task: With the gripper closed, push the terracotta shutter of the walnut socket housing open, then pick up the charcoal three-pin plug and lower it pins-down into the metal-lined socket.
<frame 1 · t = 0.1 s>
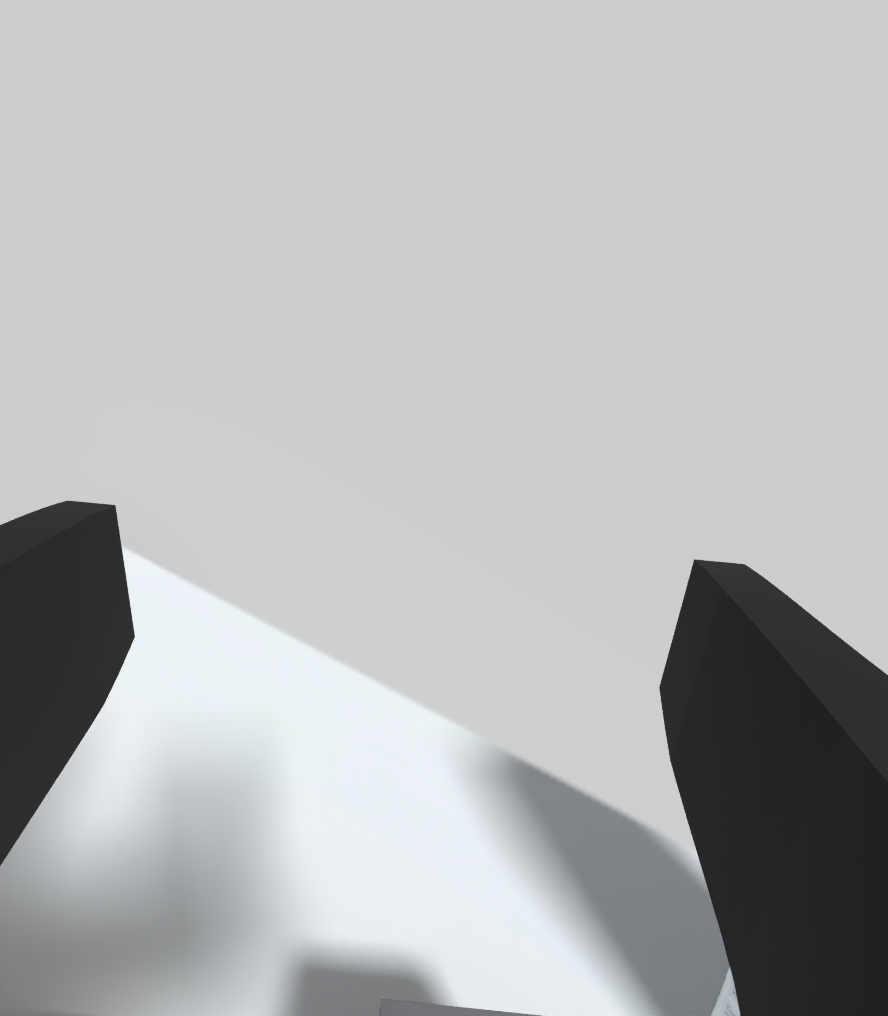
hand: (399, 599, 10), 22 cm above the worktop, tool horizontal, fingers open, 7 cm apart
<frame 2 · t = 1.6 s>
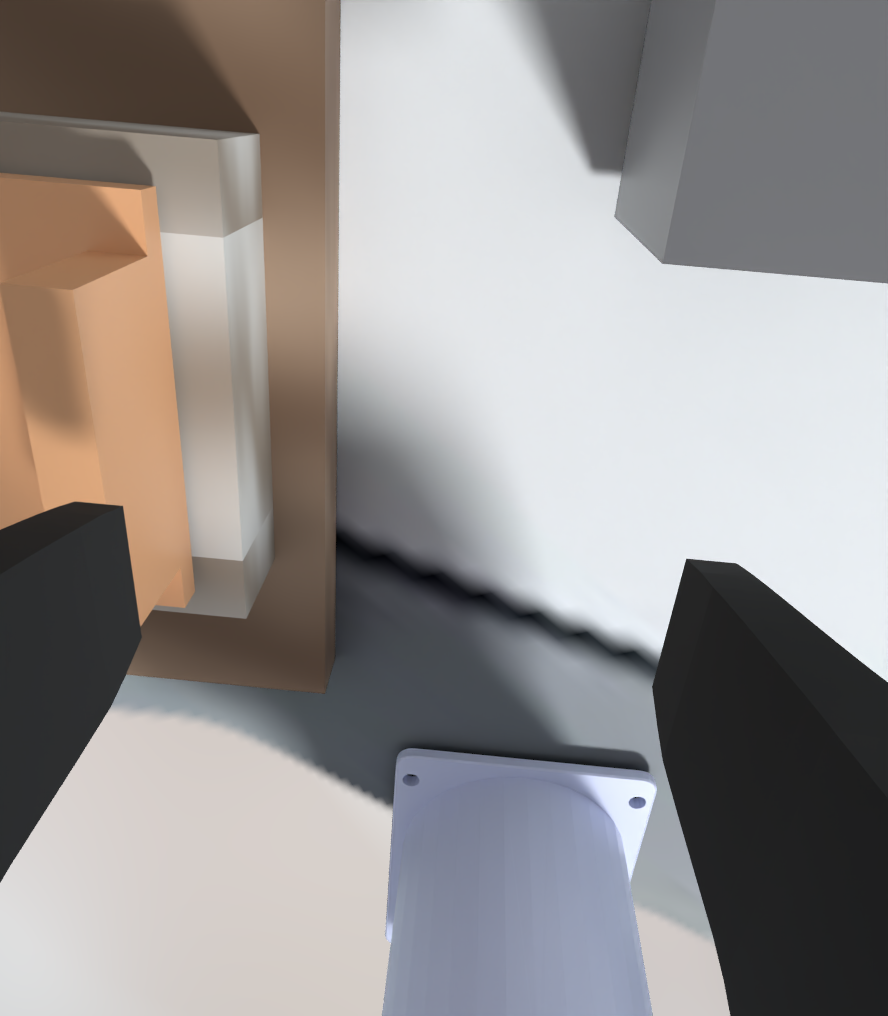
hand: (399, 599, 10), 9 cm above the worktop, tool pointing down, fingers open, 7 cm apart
socket housing: (86, 336, 18), on the worktop
plug: (743, 100, 15), on the worktop
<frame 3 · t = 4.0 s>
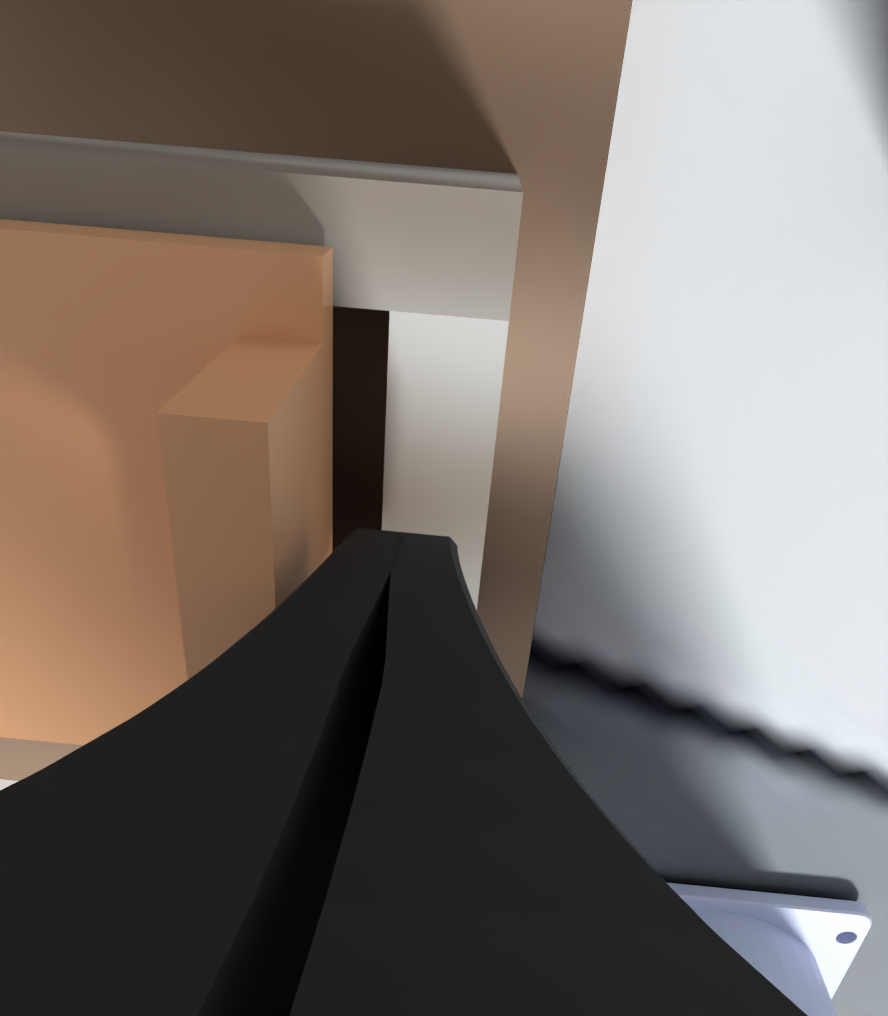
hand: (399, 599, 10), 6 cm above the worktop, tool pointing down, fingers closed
shutter: (15, 571, 10), point 6 cm above the worktop, slide at 1.2 cm, touching gripper
socket housing: (240, 414, 15), on the worktop
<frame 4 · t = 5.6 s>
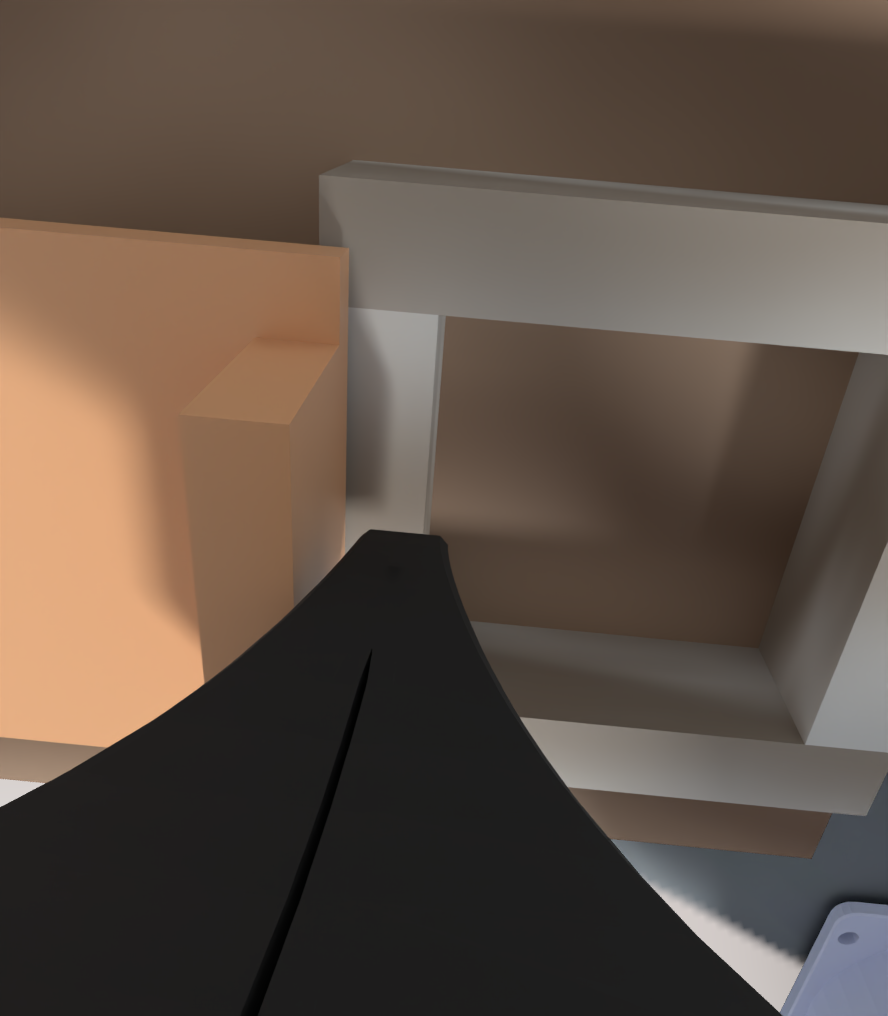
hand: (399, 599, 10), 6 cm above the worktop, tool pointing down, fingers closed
shutter: (28, 572, 10), point 6 cm above the worktop, slide at 8.1 cm, touching gripper
socket housing: (609, 447, 15), on the worktop
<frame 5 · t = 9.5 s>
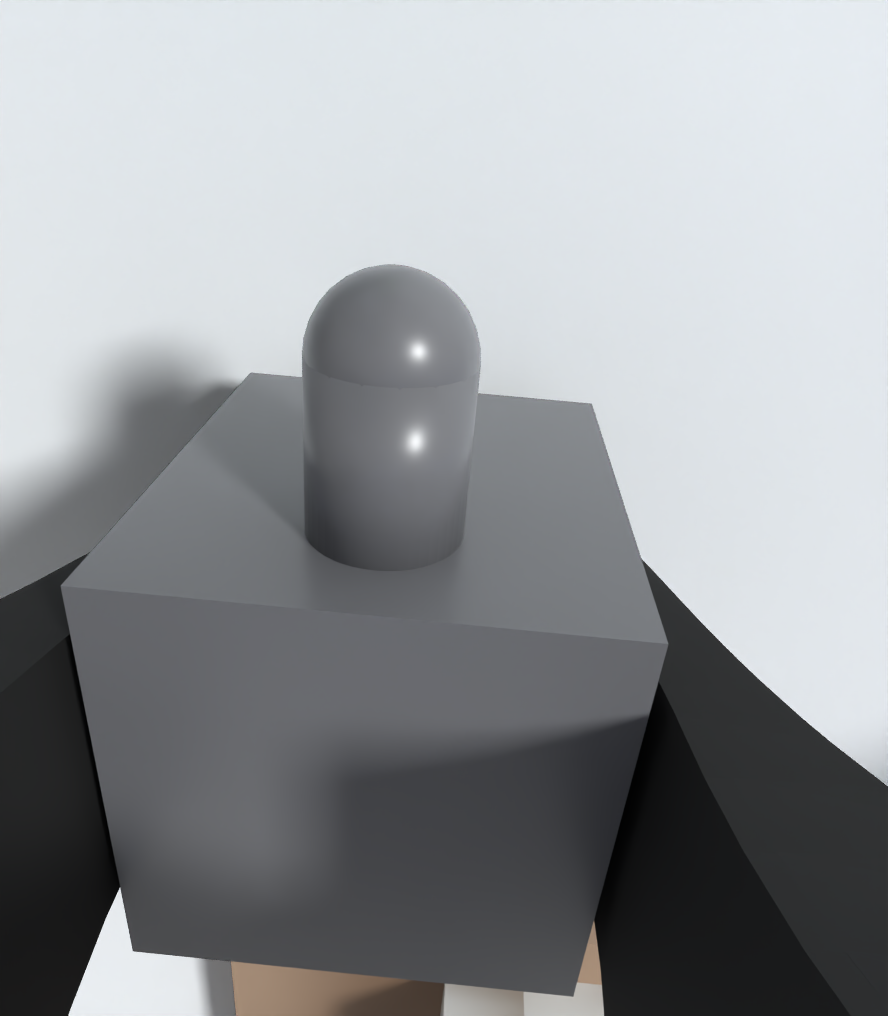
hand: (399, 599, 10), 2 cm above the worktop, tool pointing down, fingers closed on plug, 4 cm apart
plug: (416, 509, 12), on the worktop, touching gripper
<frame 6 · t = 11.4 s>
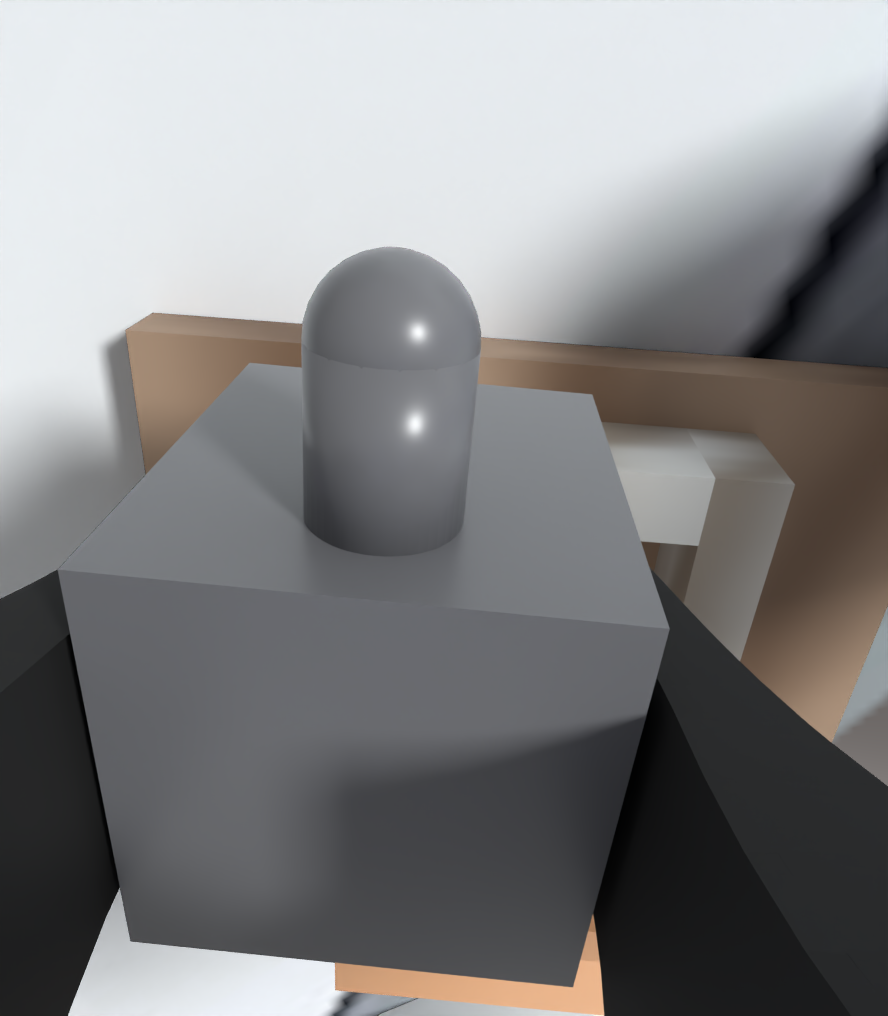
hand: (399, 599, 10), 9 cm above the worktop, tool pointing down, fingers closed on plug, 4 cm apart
shutter: (486, 957, 19), point 6 cm above the worktop, slide at 8.1 cm
socket housing: (513, 562, 20), on the worktop
plug: (415, 501, 12), point 7 cm above the worktop, touching gripper
when the fingers open (5 cm above the worktop, at t = 13.3 s): plug stays where it is, resting on socket housing.
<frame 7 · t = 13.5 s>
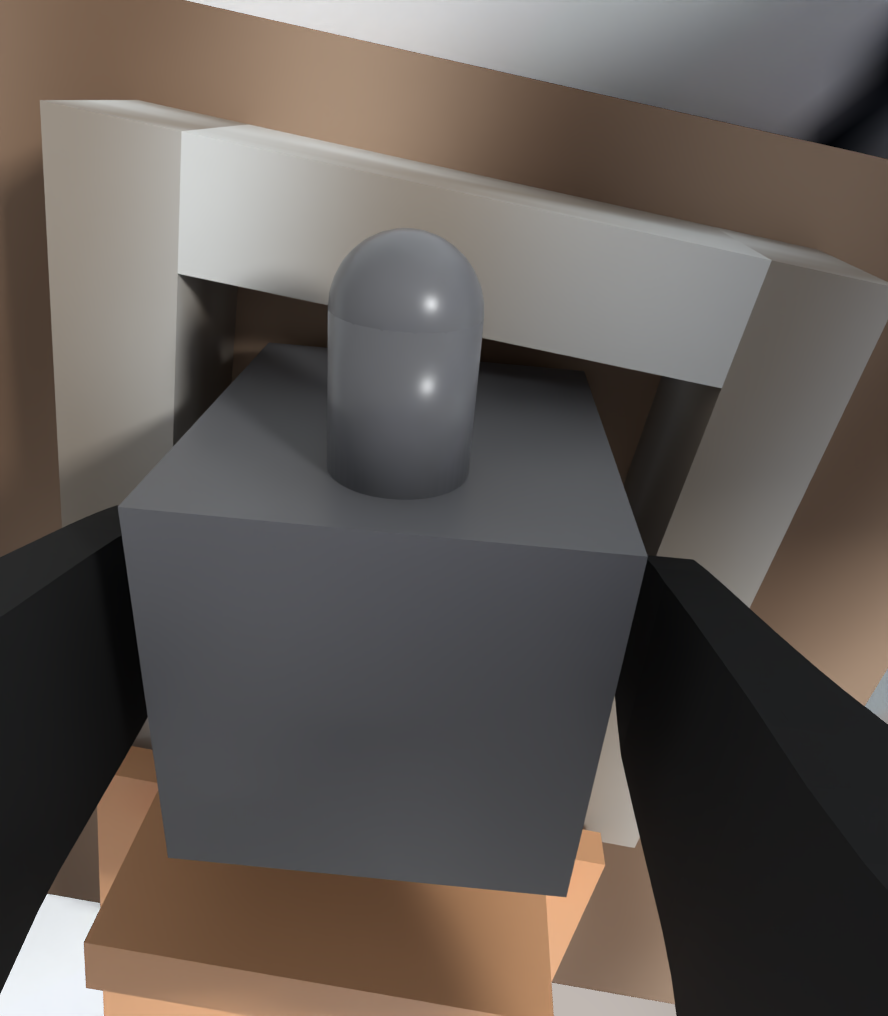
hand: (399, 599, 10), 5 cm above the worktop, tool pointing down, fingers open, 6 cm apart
socket housing: (428, 445, 14), on the worktop
plug: (420, 474, 13), point 1 cm above the worktop, touching socket housing
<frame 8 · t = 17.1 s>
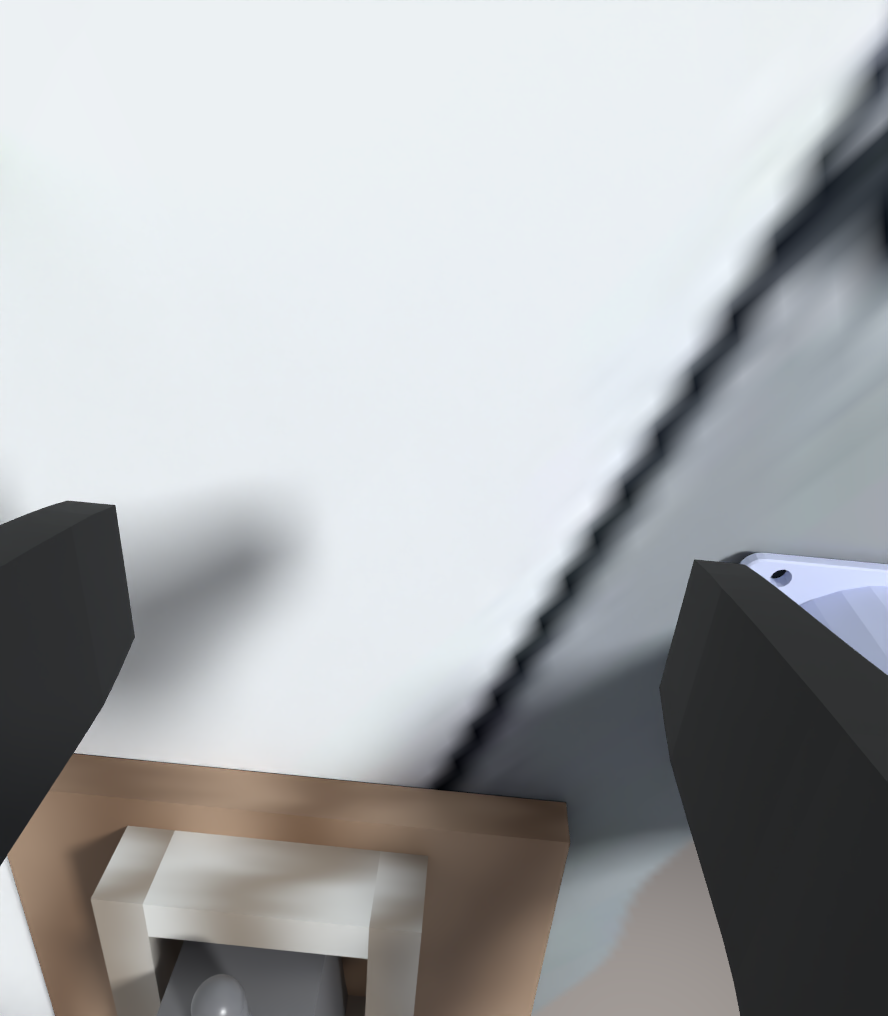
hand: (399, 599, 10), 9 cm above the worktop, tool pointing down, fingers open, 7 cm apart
socket housing: (291, 893, 28), on the worktop
plug: (280, 931, 26), point 1 cm above the worktop, touching socket housing
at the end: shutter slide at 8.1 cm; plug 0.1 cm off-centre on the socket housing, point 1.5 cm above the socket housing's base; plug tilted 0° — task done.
